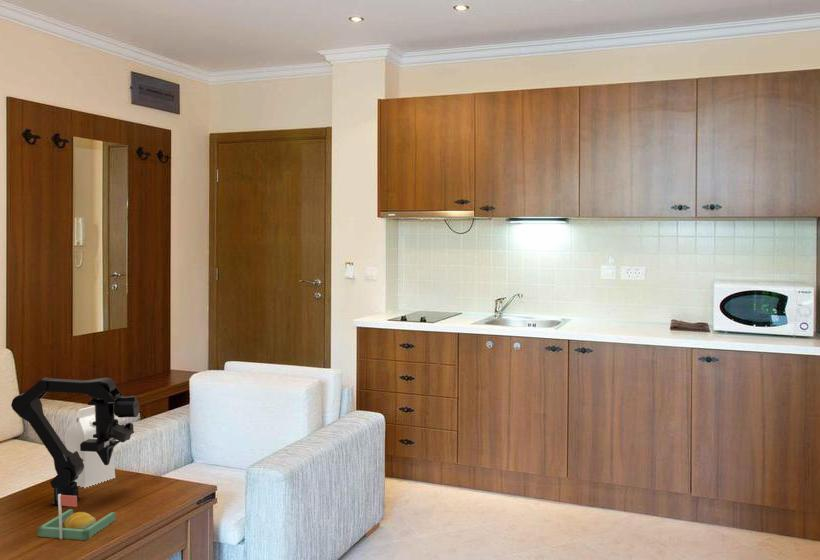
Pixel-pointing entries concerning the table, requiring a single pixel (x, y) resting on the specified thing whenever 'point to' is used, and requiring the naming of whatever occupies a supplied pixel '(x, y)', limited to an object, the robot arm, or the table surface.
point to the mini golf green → (67, 533)
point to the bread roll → (79, 521)
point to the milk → (92, 462)
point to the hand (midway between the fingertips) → (106, 464)
